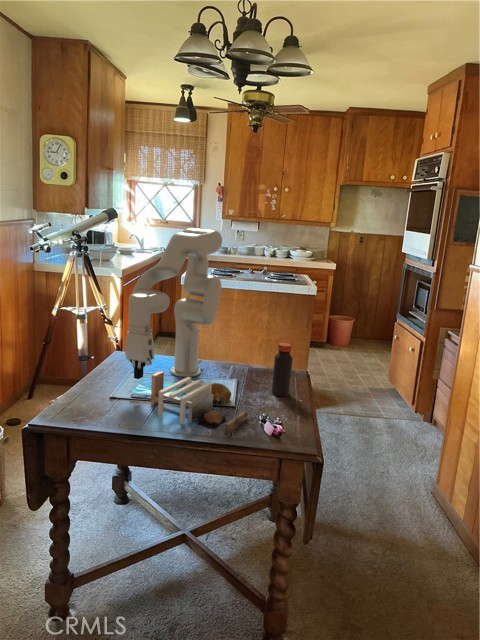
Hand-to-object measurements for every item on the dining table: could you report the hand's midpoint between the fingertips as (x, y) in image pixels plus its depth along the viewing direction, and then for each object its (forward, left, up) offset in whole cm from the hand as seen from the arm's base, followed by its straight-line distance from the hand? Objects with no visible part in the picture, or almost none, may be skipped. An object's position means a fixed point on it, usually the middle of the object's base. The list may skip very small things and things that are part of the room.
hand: (138, 377), depth 171 cm
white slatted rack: (0, +21, -7) cm, 22 cm away
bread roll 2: (+1, +32, -8) cm, 33 cm away
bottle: (-36, +41, -8) cm, 55 cm away
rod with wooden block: (0, +18, -7) cm, 19 cm away
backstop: (-1, +40, -7) cm, 41 cm away
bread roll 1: (-15, +24, -8) cm, 30 cm away
